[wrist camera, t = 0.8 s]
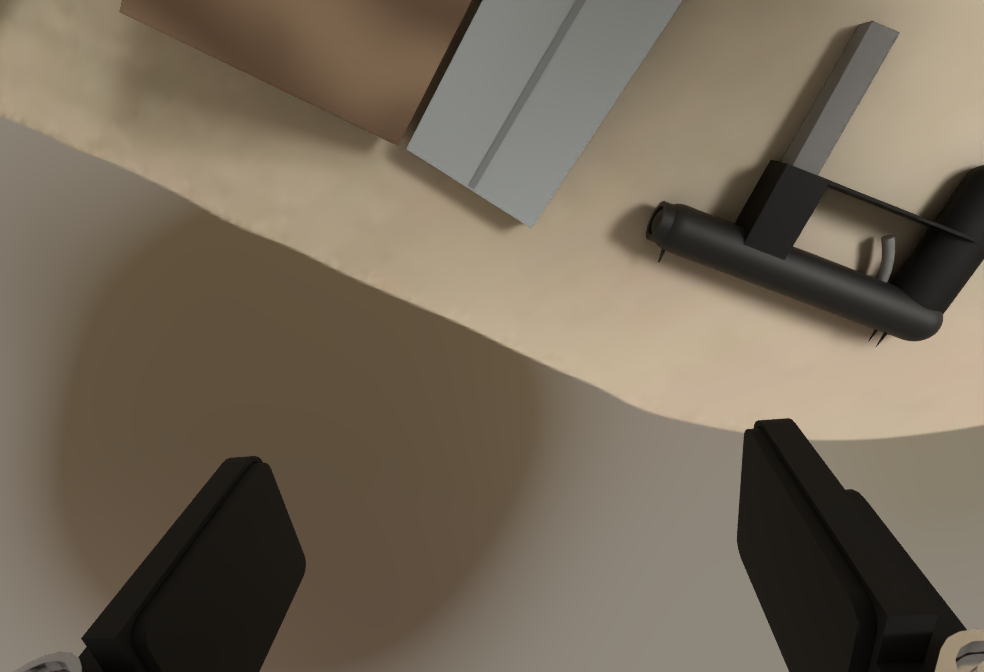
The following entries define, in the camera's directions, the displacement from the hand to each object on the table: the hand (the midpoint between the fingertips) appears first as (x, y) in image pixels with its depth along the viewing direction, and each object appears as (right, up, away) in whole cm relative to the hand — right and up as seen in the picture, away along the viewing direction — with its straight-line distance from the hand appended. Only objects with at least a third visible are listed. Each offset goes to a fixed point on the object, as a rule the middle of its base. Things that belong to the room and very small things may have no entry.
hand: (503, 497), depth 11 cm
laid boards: (+3, +19, +21) cm, 29 cm away
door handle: (+21, +13, +24) cm, 34 cm away
